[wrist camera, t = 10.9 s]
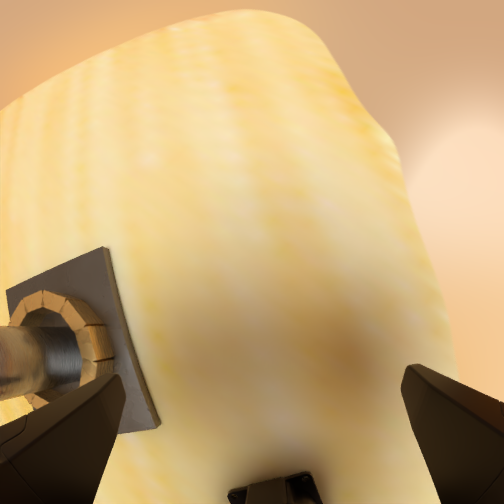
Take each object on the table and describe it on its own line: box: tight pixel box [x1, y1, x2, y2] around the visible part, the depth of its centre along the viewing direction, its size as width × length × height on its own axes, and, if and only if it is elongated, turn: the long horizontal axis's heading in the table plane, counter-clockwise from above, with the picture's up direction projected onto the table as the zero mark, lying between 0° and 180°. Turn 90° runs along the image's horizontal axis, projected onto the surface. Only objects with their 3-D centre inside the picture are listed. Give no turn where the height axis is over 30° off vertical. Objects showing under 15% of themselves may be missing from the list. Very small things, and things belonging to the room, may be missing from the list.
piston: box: [0, 326, 83, 401], centre depth 13 cm, size 5×5×13 cm
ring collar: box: [6, 246, 161, 434], centre depth 19 cm, size 14×12×4 cm
